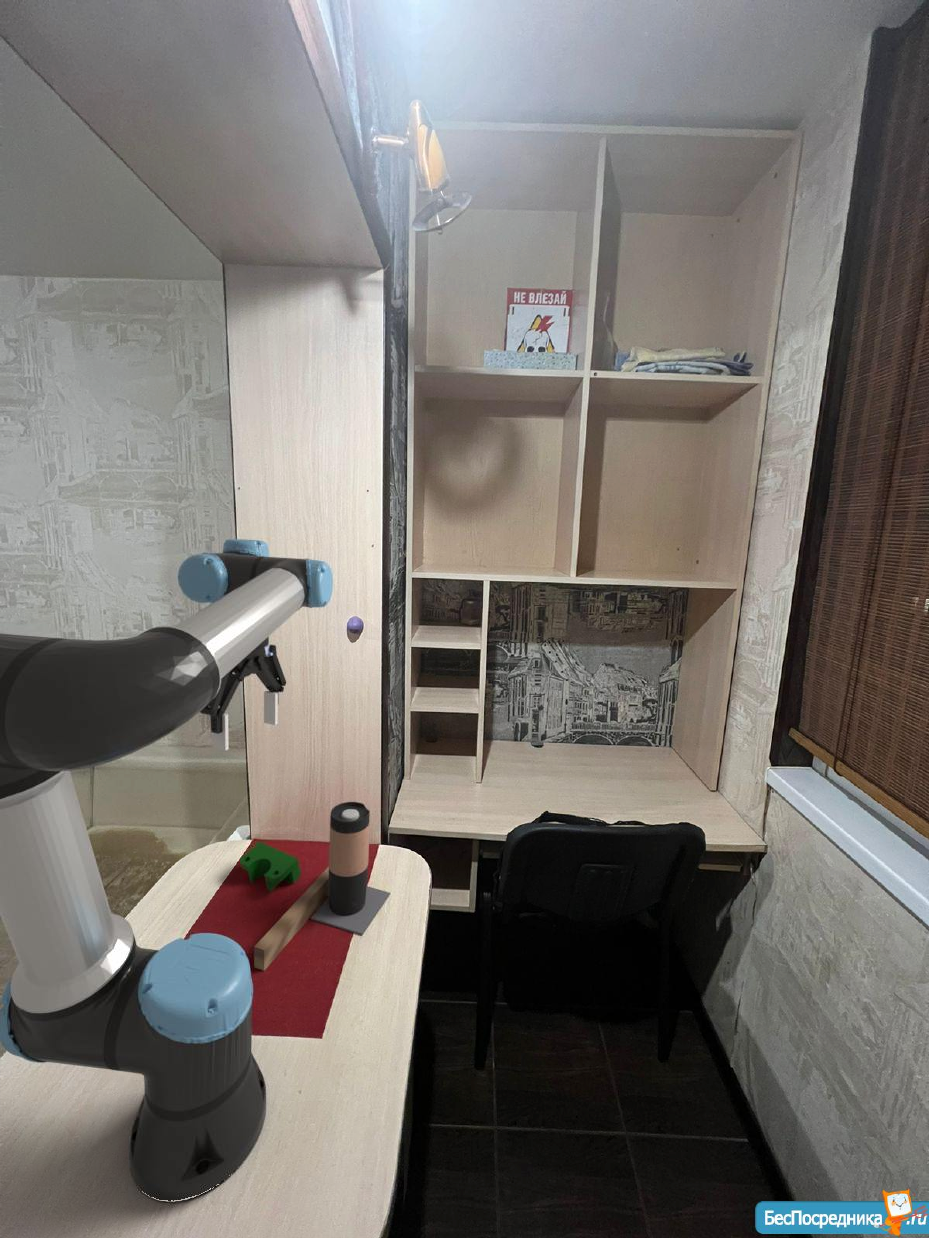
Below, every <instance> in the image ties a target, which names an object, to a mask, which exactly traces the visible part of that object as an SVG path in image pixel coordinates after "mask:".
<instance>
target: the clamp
mask: <svg viewBox="0 0 929 1238" xmlns="http://www.w3.org/2000/svg"><path fill="white" fill-rule="evenodd" d="M239 862H240V866H241V868H242V869H243V870H244V871H246V872H247V873H248V878H249V879H250V883H252V884H254V882H255V881H256V880H258V879H259V878H261V877H264V879H265V883H266V884H265V885H266V888H267V891H268V892H272V891H273V890H274V889H275V888H276V887H277V886H278V885H279V884H280V883H281V882H282V881H285V882H287V883H289V884H291V885H293V884H294V883H296V881H297V880H299V879H300V877H301V875H302V873H301V869H300V868H301V867H300V863H299V859H298V858H297V857H295V856H293V855H290V854H288V853H286V852H284V851H281V850H279V849H277V848H275V847H272V846H270V845H268V844H266V843H264V842H261V841H258V842H257V843H256V844H255V845H254V846H253V847H251V849H249V850H247V852H246V853H245V854H244V855H243V856H242V857H241V858H240V860H239Z"/></svg>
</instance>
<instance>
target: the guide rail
mask: <svg viewBox="0 0 929 1238" xmlns="http://www.w3.org/2000/svg"><path fill="white" fill-rule="evenodd" d="M328 897H329V866H327V867H326V869H325V870H324V871H323V872H322V873H321V874H320V875H319V876H318V877H317V879H316V880H314V882H313V883H311V885H310V886H309V887H308V888H307V889H306V890H305V892H303V893H302V895H301V896H300V897H299V898H298V899H297V900H296V901H295V902H294V903H293V904H292V905H291V906H290V908H289V909H288V910H286V912H285V913H284V914H282V916H281V917H280V918H279V920H277V922H275V924H274V925H273V926H272V927H271V928H270V929H269V930H268V931H267V932H266V934H265V935H264V936H263V937H261V939H260V940H259V941H258V942H257V943H256V944H255V945H254V947H253V948H254V949H253V958H254V959H253V960H254V961H253V962H254V964H253V966H254V967H253V968H254V969H258V970H260V971H263V972H265V971H266V970H267V968H268V967H269V966H270V965H271V964H272V963H273V961H274V960H275V959H276V958H277V957H278V955H279V954H280V953H281V952H282V951H283V949H284V948H285V947H286V946H287V945H288V944H289V943H290V942H291V940H292V939H293V938H294V936H295V935H297V933H298V932H299V931H300V930H301V928H302V927H303V926H304V925H305V923H306V922H307V921H308V920H309V919H311V917H312V916H313V915H314V913H315V912H316V911H317V910H318V909H319V908H320V906H321V905H322V904H323V903H324V902H325V900H326V899H327V898H328Z"/></svg>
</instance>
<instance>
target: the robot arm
mask: <svg viewBox="0 0 929 1238" xmlns="http://www.w3.org/2000/svg"><path fill="white" fill-rule="evenodd" d="M222 547H223V548H222V552H211V553H210V552H209V553H208V552H202V553H198V554H194V555H190V556H189V557H187V558H186V559H185V560H183V561H182V563H181V564H180V567H179V569H178V571H177V572H178V573H177V580H178V586H179V588H180V590H181V592H182V593H183V594H184V595H185V597H186V598H188V599H189V600H191V601H193V602H195V603H200V604H205V603H206V604H207V603H210V604H208V605H207V606H205V607H204V608H201V609H200V610H199V611H197V612H195V613H193V614H192V615H190V616H188V617H187V618H185V619H184V620H182V621H180V622H178V623H177V624H175V625H173V626H170V625H160V626H155V627H152V628H149V629H147V630H145V631H143V632H141V633H139V634H138V635H136V636H132V637H127V638H121V639H120V638H119V639H100V640H99V639H98V640H95V639H79V638H78V639H76V638H72V639H70V638H61V637H49V636H48V637H47V636H46V637H45V636H35V635H23V634H19V635H18V634H12V633H11V634H10V633H9V634H8V633H0V918H1V920H2V923H3V925H4V928H5V931H6V933H7V935H8V938H9V940H10V943H11V946H12V948H13V950H14V953H15V955H16V957H17V960H18V962H19V963H18V964H17V966H16V968H15V970H14V972H13V974H12V976H11V977H10V979H9V980H8V981H7V984H6V986H5V988H4V990H3V992H2V995H1V998H0V1003H1V1004H3V1006H2V1008H0V1044H1V1046H2V1047H3V1048H4V1050H5V1051H6V1052H7V1053H9V1054H11V1055H13V1056H16V1057H19V1058H22V1059H24V1060H26V1061H28V1062H33V1063H38V1064H39V1063H41V1064H43V1063H53V1064H62V1065H69V1066H77V1067H78V1066H80V1067H84V1068H85V1067H87V1068H96V1069H102V1070H111V1071H118V1072H123V1073H125V1072H126V1073H131V1074H132V1073H133V1074H138V1075H142V1076H143V1082H144V1083H143V1084H144V1094H143V1097H142V1100H141V1102H140V1105H139V1107H138V1109H137V1114H136V1116H135V1119H134V1122H133V1125H132V1128H131V1132H130V1138H129V1148H128V1149H129V1150H128V1152H129V1168H130V1173H131V1177H132V1179H134V1180H133V1182H134V1181H135V1182H134V1184H135V1183H136V1184H135V1186H136V1185H137V1186H138V1187H139V1188H140V1189H141V1191H143V1192H144V1193H146V1194H147V1195H149V1196H150V1197H154V1198H156V1199H159V1200H168V1201H171V1200H173V1201H174V1200H181V1199H185V1198H188V1197H192V1196H195V1195H199V1194H201V1193H203V1192H205V1191H207V1190H209V1189H210V1188H211V1189H212V1188H213V1187H215V1186H216V1185H217V1184H220V1183H221V1182H222V1181H223V1180H225V1179H226V1178H227V1179H229V1178H230V1177H229V1175H231V1174H232V1175H234V1173H235V1172H236V1171H237V1170H238V1169H239V1168H240V1167H241V1166H242V1165H243V1163H244V1162H245V1161H246V1160H247V1158H248V1157H249V1155H250V1154H251V1153H252V1151H253V1149H254V1147H255V1146H256V1144H257V1142H258V1141H259V1138H260V1136H261V1133H262V1131H263V1127H264V1124H265V1120H266V1113H267V1085H266V1082H265V1078H264V1075H263V1072H262V1071H261V1069H260V1067H259V1064H258V1062H257V1060H256V1059H255V1057H254V1055H253V1052H252V1040H253V1039H252V1035H253V1034H252V1033H253V1031H252V1026H253V1025H252V1023H253V1021H252V1020H253V1019H252V1018H253V1016H252V1015H253V1013H252V1011H253V1010H252V1009H253V1007H252V1005H253V996H254V984H253V979H252V973H251V972H252V971H251V967H250V965H251V964H250V961H249V958H248V956H247V954H246V951H245V950H244V948H242V946H241V945H240V944H239V943H238V942H236V941H235V940H234V939H232V938H230V937H228V936H225V935H223V934H218V933H212V932H200V933H199V932H198V933H194V934H190V935H189V937H188V939H184V938H183V937H179V938H177V939H175V940H172V941H170V942H169V943H167V944H165V945H164V946H163V947H161V948H160V949H151V948H143V947H140V946H138V944H137V942H136V937H135V933H134V930H133V927H132V925H131V924H130V922H129V921H128V920H127V919H126V918H125V917H123V916H121V915H120V914H116V913H113V912H112V911H111V908H110V905H109V902H108V898H107V895H106V891H105V888H104V884H103V881H102V877H101V873H100V869H99V866H98V863H97V860H96V856H95V852H94V850H93V846H92V843H91V840H90V836H89V833H88V829H87V825H86V822H85V819H84V815H83V813H82V809H81V806H80V802H79V798H78V794H77V792H76V788H75V785H74V781H73V778H72V774H71V772H73V771H78V770H79V771H80V770H85V769H89V768H90V769H91V768H94V767H98V766H101V765H104V764H105V765H106V764H108V763H109V764H110V763H112V762H113V761H116V760H120V759H122V758H124V757H126V756H128V755H132V754H133V753H135V752H137V751H140V750H141V749H144V748H146V747H148V746H150V745H152V744H154V743H156V742H157V741H159V740H161V739H163V738H165V737H166V736H168V735H170V734H171V733H172V734H173V732H175V731H176V730H178V729H179V728H180V727H182V726H183V725H185V724H186V723H189V721H190V720H191V719H193V718H194V717H195V716H196V715H198V714H199V713H200V714H203V715H207V716H210V732H211V733H212V748H213V749H216V750H221V751H228V750H229V743H230V742H229V713H226V711H227V709H228V707H229V705H230V703H231V700H232V698H233V697H234V695H235V693H236V691H237V689H238V687H239V685H240V683H242V682H243V681H244V680H245V678H247V677H249V676H250V675H252V674H253V675H256V676H257V678H258V679H259V681H260V682H261V683H262V684H263V686H264V688H266V690H265V691H263V724H268V725H273V726H276V725H278V723H279V721H278V719H279V718H278V717H279V716H278V713H279V712H278V711H279V709H278V708H279V707H278V706H279V700H280V699H279V696H280V695H279V693H283V692H284V691H285V687H286V685H287V680H286V677H285V674H284V671H283V669H282V667H281V663H280V661H279V658H278V656H277V655H278V654H277V652H278V651H277V646H276V645H275V644H270V636H271V635H272V634H273V633H274V632H275V631H277V630H278V628H280V627H281V626H282V625H283V624H284V623H285V622H286V621H288V620H289V619H290V618H291V617H292V616H293V615H294V614H296V612H298V611H299V610H300V609H301V608H308V609H312V608H324V607H326V606H327V605H328V604H329V603H330V600H331V598H332V595H333V591H334V590H333V589H334V577H333V571H332V568H331V567H330V565H329V564H328V562H326V561H323V560H318V559H317V560H315V559H312V558H311V559H310V558H308V557H306V558H293V557H277V556H270V552H269V545H268V544H267V542H266V541H263V540H259V539H258V540H257V539H245V538H244V539H241V538H240V539H239V538H238V539H237V538H236V539H235V538H228V539H226V540H225V541H224V542H223V546H222ZM243 1161H244V1162H243ZM238 1167H239V1168H238ZM234 1171H235V1172H234ZM233 1172H234V1173H233ZM232 1175H231V1176H232ZM228 1177H229V1178H228ZM227 1179H226V1180H227ZM226 1180H225V1181H226ZM222 1183H223V1182H222ZM222 1183H221V1184H222ZM221 1184H220V1185H221ZM137 1186H136V1187H137ZM138 1187H137V1188H138ZM139 1188H138V1189H139ZM215 1188H216V1187H215ZM212 1190H213V1189H212ZM141 1191H140V1192H141ZM144 1193H143V1194H144Z"/></svg>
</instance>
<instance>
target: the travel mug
mask: <svg viewBox="0 0 929 1238" xmlns="http://www.w3.org/2000/svg"><path fill="white" fill-rule="evenodd" d="M370 811H371V810H370V809H368V808H367V807H366V806H365V804H364V803H363V802H359V801H345V802H341V803H338V804H337V805H334V807H332V808H331V810H330V816H329V817H330V819H329V821H330V822H329V847H328V848H329V849H328V867H329V895H328V897H329V906H330V909H331V911H332V912H333V913H335V914H337V915H341V916H349V915H353V914H356V913H358V912H359V911H361V910H362V909H363V907H364V905H365V901H366V889H367V886H368V874H369V872H368V871H369V852H370V851H369V849H370V848H369V843H370V816H371V815H370V814H371V813H370Z"/></svg>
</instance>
